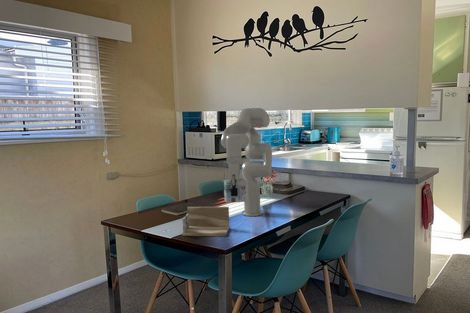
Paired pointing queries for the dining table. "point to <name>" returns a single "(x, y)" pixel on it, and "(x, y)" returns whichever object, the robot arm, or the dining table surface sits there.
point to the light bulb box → (241, 191)
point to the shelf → (206, 221)
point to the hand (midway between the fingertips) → (235, 193)
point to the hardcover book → (180, 208)
